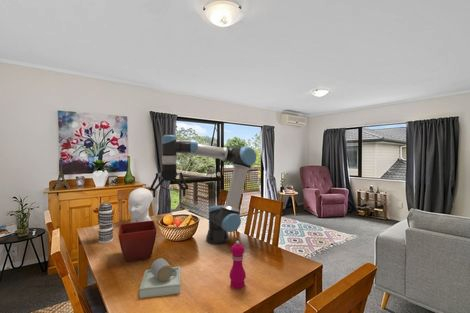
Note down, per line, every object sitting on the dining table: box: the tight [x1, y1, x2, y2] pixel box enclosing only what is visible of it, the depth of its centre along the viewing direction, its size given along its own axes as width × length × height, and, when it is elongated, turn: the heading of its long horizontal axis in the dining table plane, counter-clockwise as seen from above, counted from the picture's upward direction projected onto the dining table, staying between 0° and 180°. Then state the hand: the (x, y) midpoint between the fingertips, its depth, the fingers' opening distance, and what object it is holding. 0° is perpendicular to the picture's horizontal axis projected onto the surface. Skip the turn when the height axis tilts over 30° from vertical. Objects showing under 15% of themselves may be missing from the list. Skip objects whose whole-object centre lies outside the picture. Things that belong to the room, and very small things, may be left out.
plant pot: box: [117, 220, 157, 263], centre depth 136 cm, size 19×19×17 cm
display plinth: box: [139, 266, 181, 299], centre depth 106 cm, size 16×16×4 cm
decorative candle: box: [97, 202, 114, 244], centre depth 159 cm, size 9×9×25 cm
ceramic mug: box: [150, 257, 177, 282], centre depth 107 cm, size 11×8×8 cm
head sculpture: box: [128, 187, 154, 223], centre depth 194 cm, size 20×23×30 cm
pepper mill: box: [229, 240, 246, 290], centre depth 106 cm, size 7×7×20 cm
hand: (169, 202), depth 130 cm, fingers open, 13 cm apart
